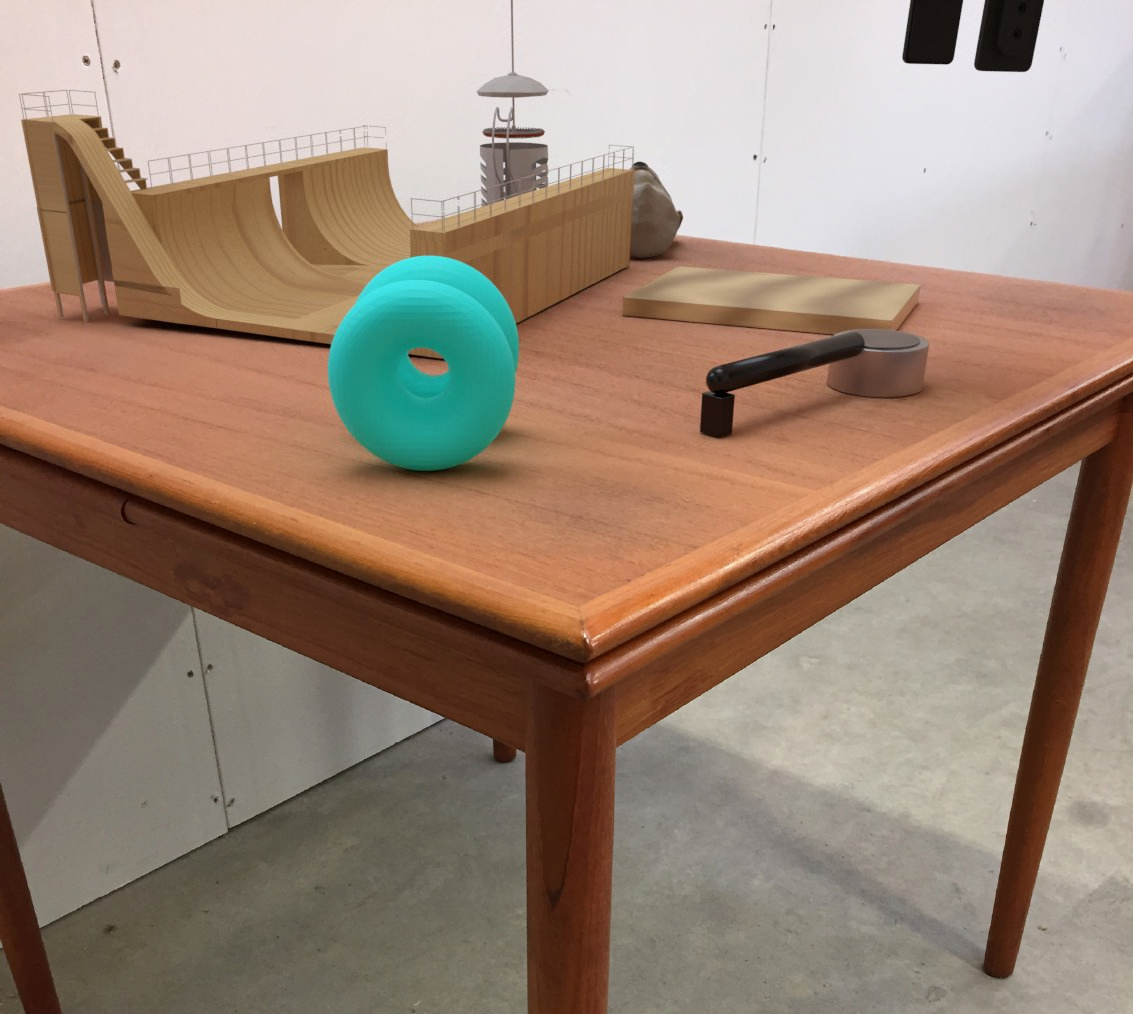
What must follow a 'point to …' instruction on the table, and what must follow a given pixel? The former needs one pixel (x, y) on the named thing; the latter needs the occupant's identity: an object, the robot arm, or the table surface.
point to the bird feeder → (514, 154)
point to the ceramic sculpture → (651, 214)
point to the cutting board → (773, 300)
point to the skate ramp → (298, 234)
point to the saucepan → (854, 368)
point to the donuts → (405, 394)
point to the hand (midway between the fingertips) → (962, 67)
